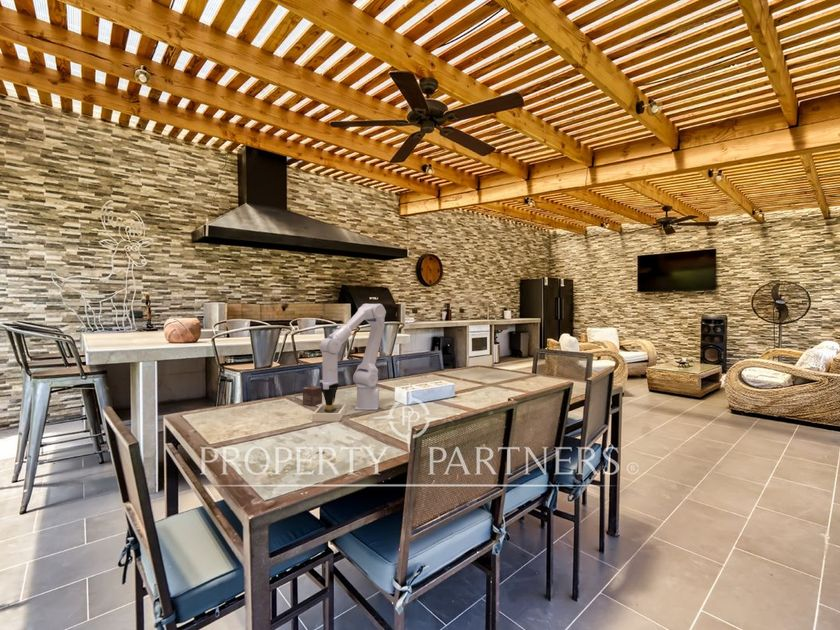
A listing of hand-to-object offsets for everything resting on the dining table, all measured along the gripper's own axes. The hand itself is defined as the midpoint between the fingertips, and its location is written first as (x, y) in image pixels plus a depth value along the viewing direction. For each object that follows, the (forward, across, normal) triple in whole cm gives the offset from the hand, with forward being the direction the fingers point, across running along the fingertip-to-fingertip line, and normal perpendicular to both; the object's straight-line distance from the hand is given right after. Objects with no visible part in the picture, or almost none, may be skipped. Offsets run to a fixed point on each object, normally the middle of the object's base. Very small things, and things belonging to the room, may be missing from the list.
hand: (330, 403), depth 158 cm
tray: (+5, 0, 0) cm, 5 cm away
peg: (+2, 0, 0) cm, 2 cm away
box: (+5, -19, -12) cm, 23 cm away
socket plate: (+5, 0, 0) cm, 5 cm away
